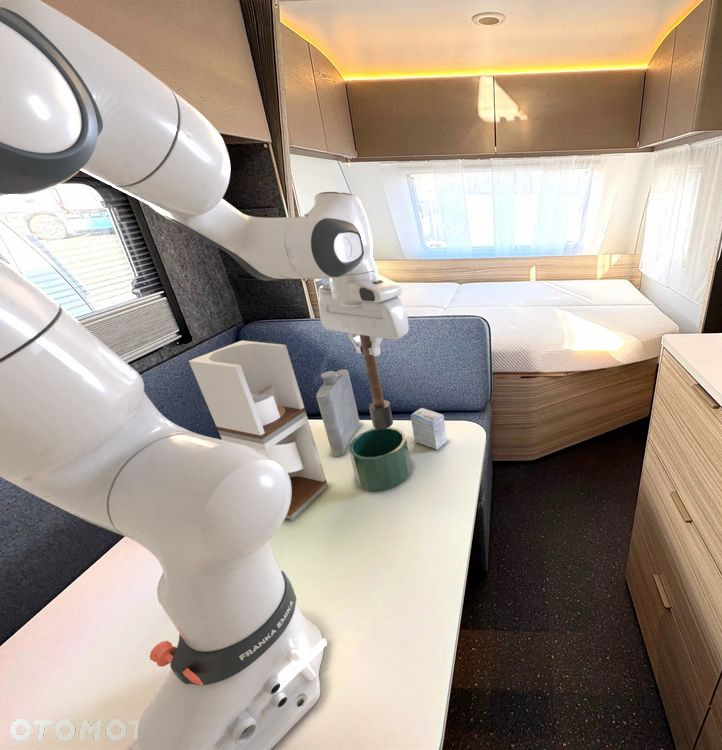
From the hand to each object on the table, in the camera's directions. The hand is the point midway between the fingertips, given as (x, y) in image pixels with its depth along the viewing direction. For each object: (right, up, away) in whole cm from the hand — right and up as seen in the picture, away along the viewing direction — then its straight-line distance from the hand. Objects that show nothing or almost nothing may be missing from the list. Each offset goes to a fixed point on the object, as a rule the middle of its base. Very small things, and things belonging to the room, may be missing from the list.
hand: (368, 353), depth 79 cm
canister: (-1, -28, +14) cm, 31 cm away
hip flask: (-16, -22, +27) cm, 39 cm away
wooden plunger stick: (+1, -15, +7) cm, 17 cm away
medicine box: (+8, -23, +24) cm, 34 cm away
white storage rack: (-20, -32, +7) cm, 38 cm away
